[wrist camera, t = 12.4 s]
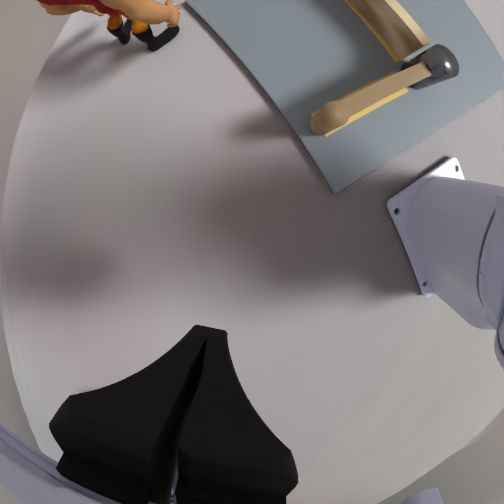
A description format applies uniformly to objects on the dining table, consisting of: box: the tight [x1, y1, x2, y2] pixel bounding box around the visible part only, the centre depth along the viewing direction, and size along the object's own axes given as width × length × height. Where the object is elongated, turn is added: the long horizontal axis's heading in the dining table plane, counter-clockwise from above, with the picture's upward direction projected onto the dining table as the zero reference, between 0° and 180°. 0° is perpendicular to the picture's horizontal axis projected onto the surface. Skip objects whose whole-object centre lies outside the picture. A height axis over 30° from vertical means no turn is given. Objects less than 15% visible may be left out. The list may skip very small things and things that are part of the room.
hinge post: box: [401, 44, 459, 90], centre depth 12 cm, size 2×2×4 cm
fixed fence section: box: [308, 62, 432, 136], centre depth 13 cm, size 1×9×4 cm, turn 124°
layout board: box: [185, 0, 504, 194], centre depth 13 cm, size 19×26×1 cm
